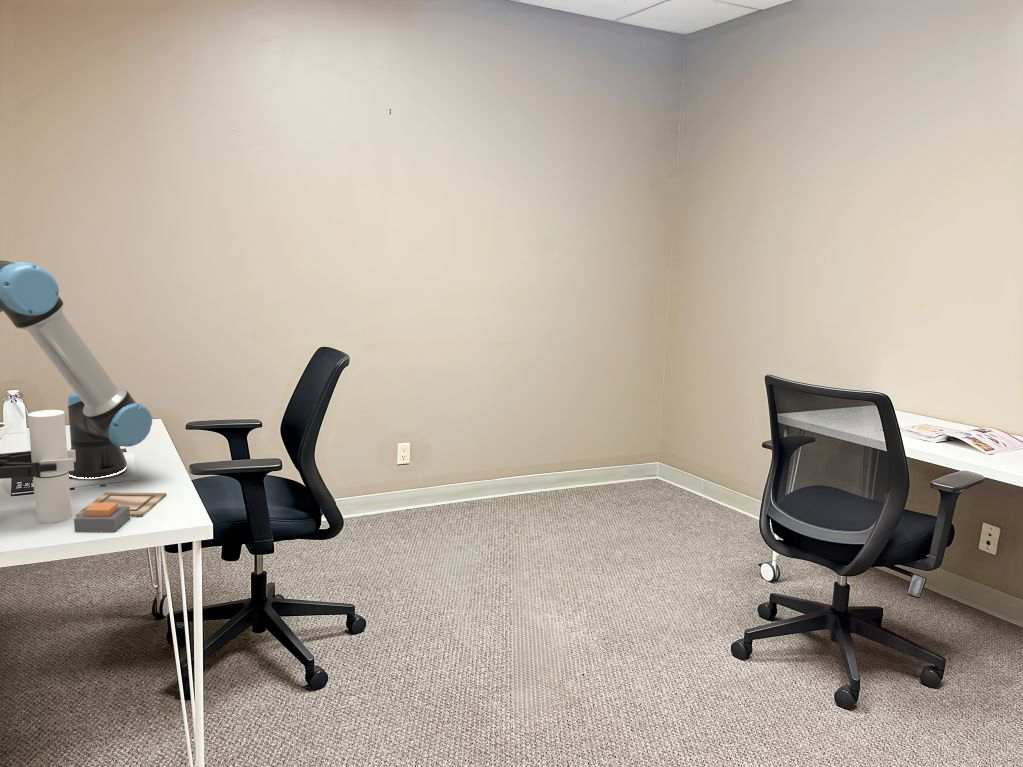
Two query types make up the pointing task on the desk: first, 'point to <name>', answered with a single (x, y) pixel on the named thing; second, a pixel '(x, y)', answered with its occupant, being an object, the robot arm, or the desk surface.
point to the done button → (102, 510)
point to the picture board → (130, 501)
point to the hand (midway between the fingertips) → (74, 459)
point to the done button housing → (102, 521)
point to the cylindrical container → (50, 446)
